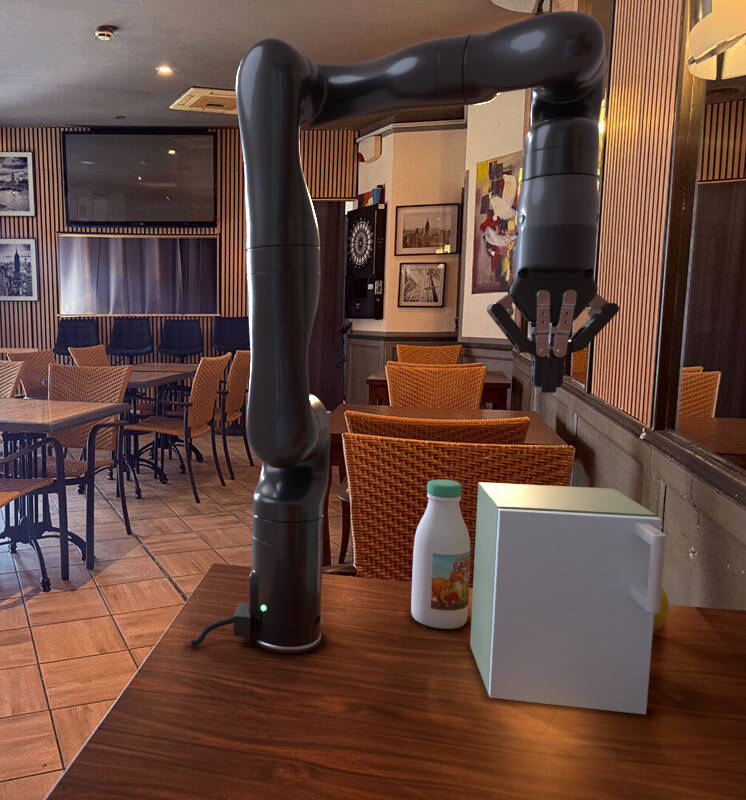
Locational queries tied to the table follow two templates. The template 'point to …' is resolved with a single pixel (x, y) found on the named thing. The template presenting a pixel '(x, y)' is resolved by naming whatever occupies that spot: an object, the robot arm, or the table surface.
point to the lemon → (661, 611)
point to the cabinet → (486, 538)
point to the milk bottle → (441, 560)
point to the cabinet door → (575, 608)
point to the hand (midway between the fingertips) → (545, 391)
